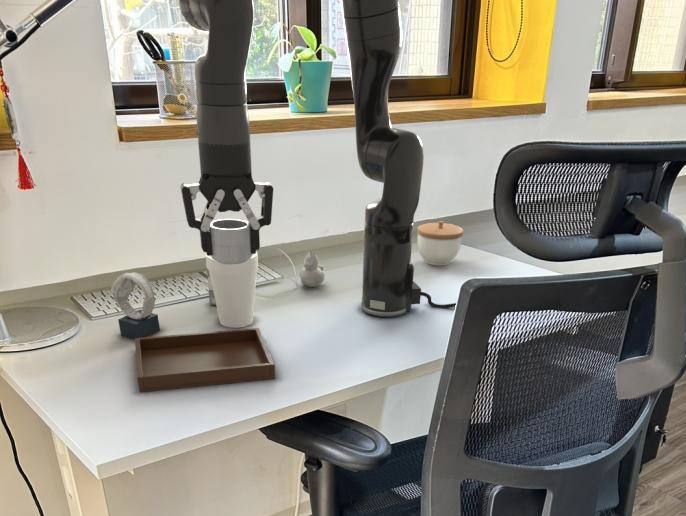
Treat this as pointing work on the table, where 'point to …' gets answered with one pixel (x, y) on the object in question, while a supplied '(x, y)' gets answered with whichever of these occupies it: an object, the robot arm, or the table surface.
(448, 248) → the trinket box
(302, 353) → the table surface
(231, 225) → the grey cup
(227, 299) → the foam cup
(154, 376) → the tray
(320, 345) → the table surface
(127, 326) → the ring sculpture on stand
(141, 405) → the table surface
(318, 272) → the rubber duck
